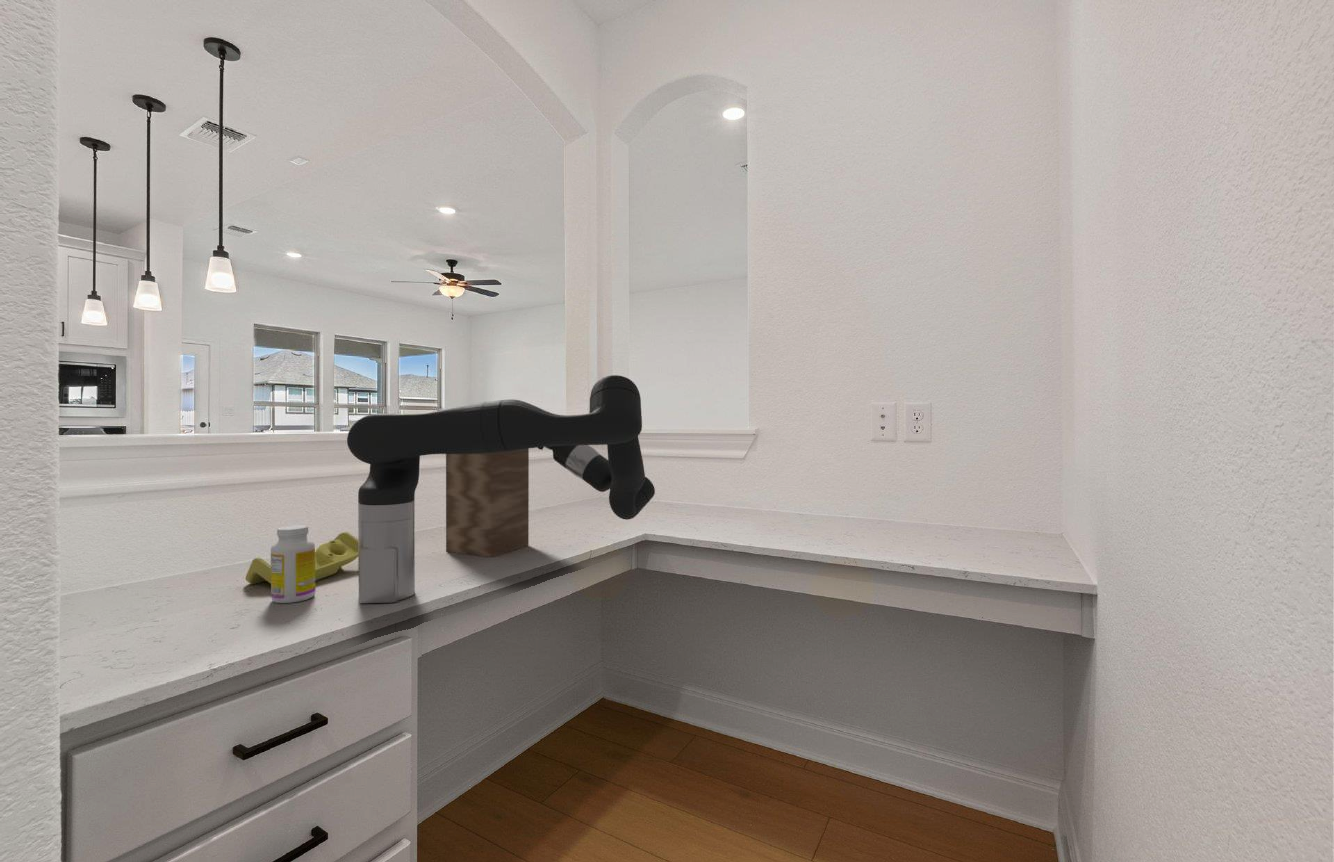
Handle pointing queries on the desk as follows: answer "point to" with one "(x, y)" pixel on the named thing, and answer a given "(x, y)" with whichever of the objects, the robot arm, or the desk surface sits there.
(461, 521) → the pedestal
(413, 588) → the robot arm
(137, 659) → the desk surface
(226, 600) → the desk surface
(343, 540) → the plastic component
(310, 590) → the supplement bottle
